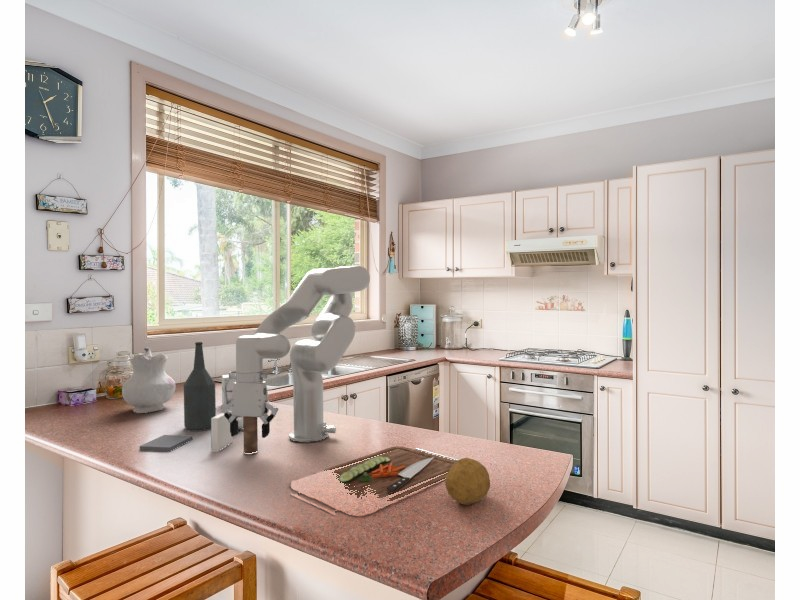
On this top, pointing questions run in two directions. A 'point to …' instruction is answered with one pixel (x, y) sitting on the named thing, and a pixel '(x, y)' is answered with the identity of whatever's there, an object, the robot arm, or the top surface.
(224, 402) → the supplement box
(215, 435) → the tile
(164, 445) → the mat
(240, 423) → the plastic bottle
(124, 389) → the ceramic pitcher
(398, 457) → the chopping board
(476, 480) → the potato
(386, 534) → the top surface
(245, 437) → the dowel
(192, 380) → the bottle
